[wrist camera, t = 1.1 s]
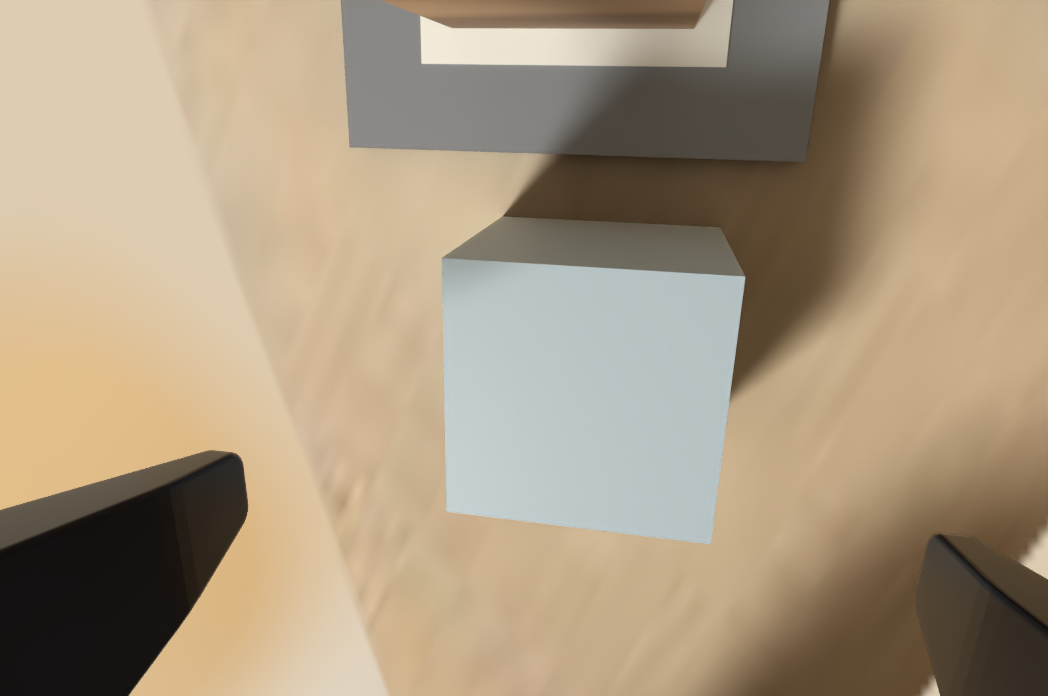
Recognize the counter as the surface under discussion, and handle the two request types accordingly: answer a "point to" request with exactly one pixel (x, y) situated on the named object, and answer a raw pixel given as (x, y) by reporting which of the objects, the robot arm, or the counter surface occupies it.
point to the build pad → (588, 84)
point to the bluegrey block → (590, 373)
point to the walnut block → (558, 13)
